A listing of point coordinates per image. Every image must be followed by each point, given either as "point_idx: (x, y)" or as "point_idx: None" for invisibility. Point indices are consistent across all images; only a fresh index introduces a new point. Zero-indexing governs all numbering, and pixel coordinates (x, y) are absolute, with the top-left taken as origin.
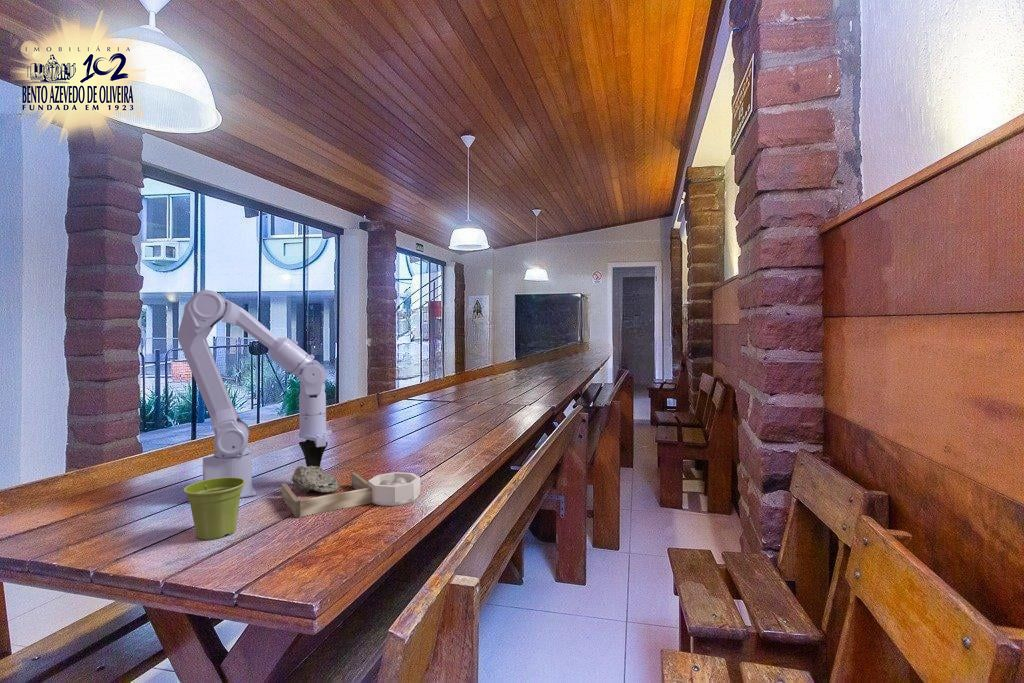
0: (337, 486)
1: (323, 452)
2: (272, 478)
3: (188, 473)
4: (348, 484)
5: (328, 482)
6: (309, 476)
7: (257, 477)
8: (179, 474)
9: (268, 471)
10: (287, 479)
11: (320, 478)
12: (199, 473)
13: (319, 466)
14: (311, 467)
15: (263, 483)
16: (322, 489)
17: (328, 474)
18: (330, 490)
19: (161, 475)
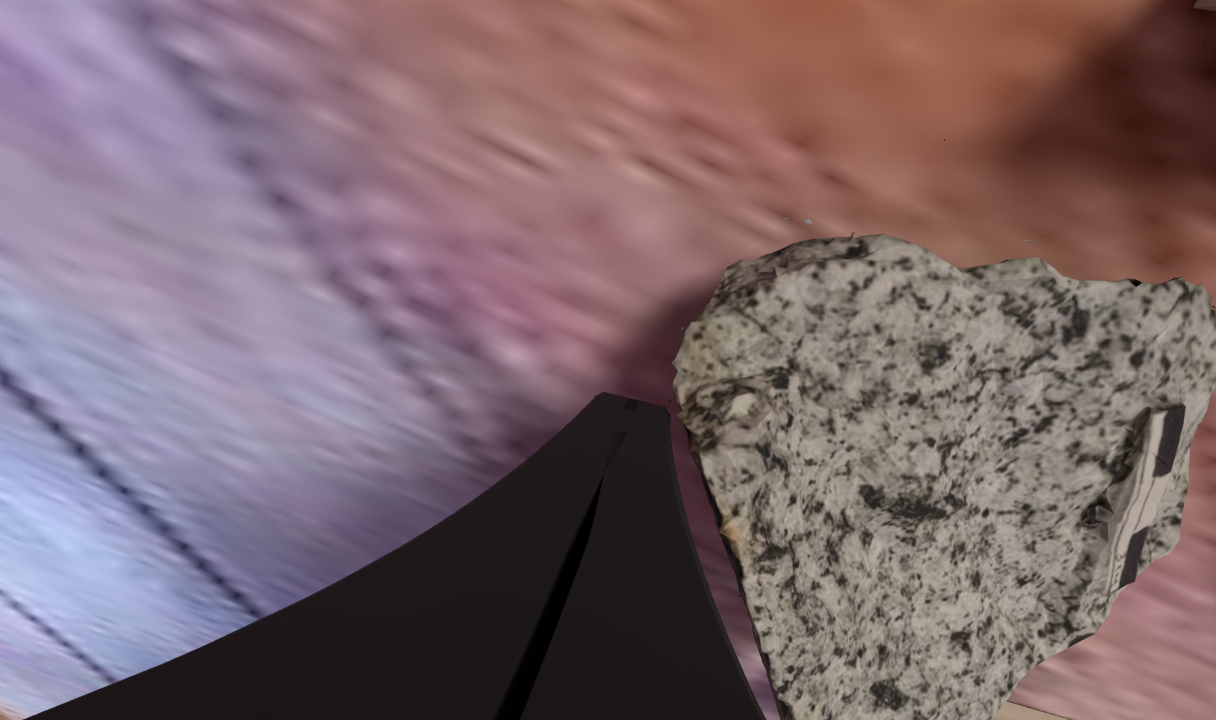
0: (1206, 326)
1: (758, 710)
2: (244, 474)
3: (4, 641)
4: (1048, 10)
5: (1109, 445)
6: (939, 672)
7: (180, 516)
8: (16, 662)
9: (36, 408)
10: (323, 423)
11: (959, 509)
12: (13, 622)
13: (671, 454)
14: (799, 658)
15: (349, 559)
16: (1153, 534)
17: (804, 304)
18: (1190, 432)
19: (20, 693)
